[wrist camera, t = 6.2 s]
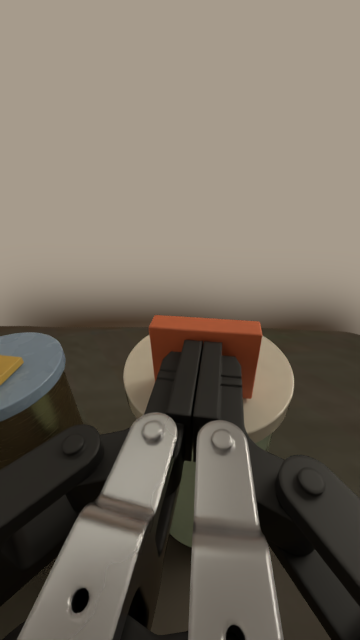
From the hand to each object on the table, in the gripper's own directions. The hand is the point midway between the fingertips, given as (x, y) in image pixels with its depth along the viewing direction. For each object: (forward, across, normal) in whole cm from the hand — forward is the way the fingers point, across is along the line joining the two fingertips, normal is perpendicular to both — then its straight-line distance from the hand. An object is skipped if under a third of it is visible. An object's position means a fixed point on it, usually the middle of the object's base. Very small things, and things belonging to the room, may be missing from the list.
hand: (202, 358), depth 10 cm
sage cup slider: (+2, 0, +2) cm, 3 cm away
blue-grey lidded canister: (+2, +14, +15) cm, 21 cm away
